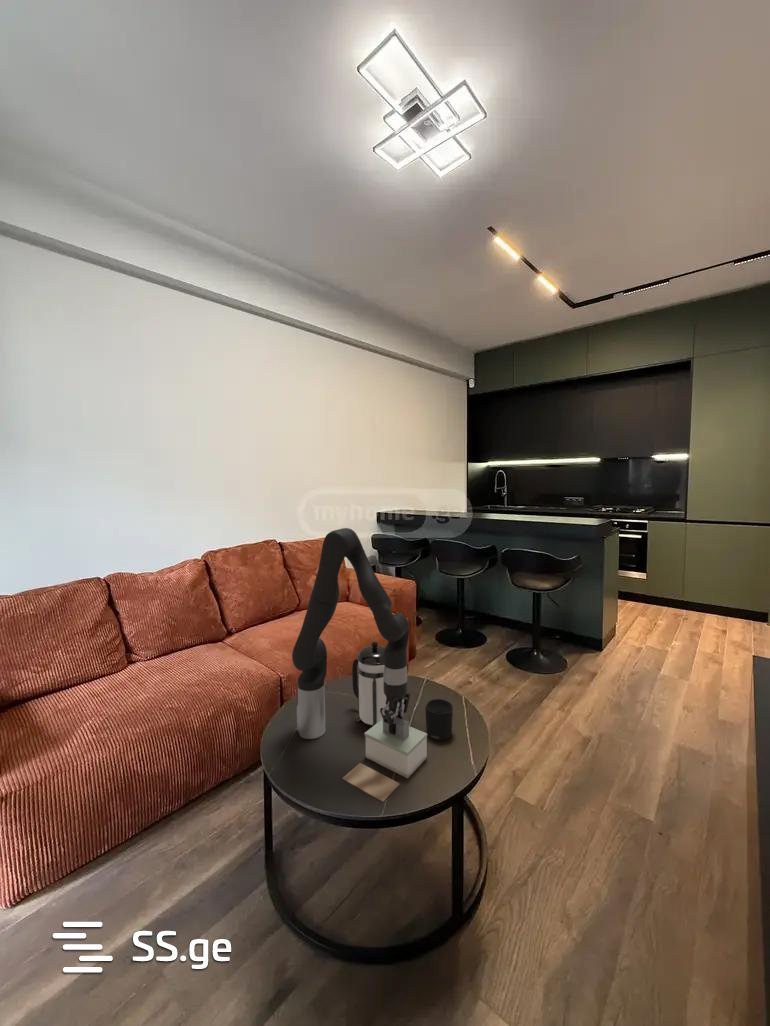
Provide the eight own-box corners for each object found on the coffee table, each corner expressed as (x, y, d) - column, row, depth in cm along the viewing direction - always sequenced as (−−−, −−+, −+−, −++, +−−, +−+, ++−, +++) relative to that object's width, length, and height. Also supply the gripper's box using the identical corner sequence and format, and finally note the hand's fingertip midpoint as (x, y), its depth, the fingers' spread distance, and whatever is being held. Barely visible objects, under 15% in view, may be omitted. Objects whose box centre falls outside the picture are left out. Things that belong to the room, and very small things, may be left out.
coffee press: (397, 709, 158) (396, 633, 156) (394, 734, 142) (393, 650, 140) (353, 707, 160) (352, 632, 158) (345, 731, 144) (343, 649, 142)
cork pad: (342, 779, 121) (342, 777, 121) (359, 764, 127) (359, 762, 127) (383, 802, 112) (383, 800, 112) (399, 784, 119) (399, 783, 119)
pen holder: (420, 730, 145) (420, 703, 144) (442, 722, 149) (442, 696, 148) (435, 745, 136) (435, 716, 135) (458, 737, 140) (458, 709, 140)
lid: (364, 739, 130) (364, 719, 130) (385, 722, 139) (385, 703, 139) (407, 760, 120) (407, 738, 120) (427, 740, 130) (427, 720, 129)
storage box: (365, 757, 131) (365, 736, 130) (386, 739, 139) (385, 720, 139) (407, 778, 121) (407, 756, 121) (426, 758, 130) (426, 737, 129)
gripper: (398, 666, 136) (398, 716, 137) (372, 683, 125) (372, 737, 126) (417, 673, 132) (417, 724, 133) (392, 691, 120) (392, 746, 122)
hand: (395, 730), depth 130 cm, fingers closed on lid, 3 cm apart
